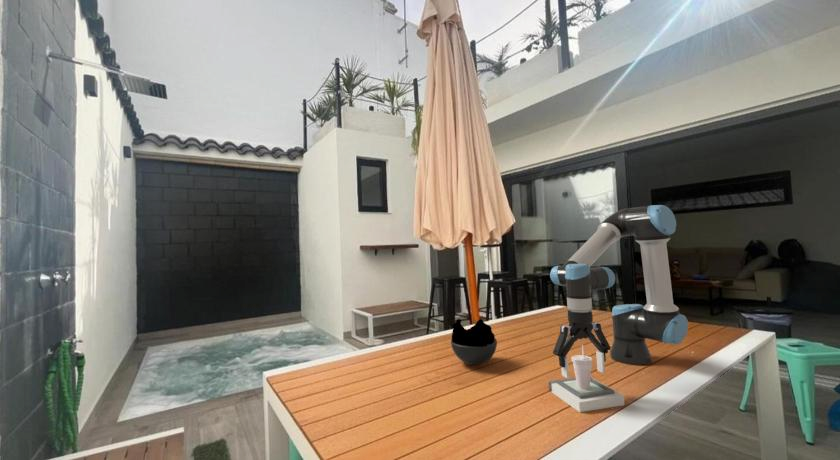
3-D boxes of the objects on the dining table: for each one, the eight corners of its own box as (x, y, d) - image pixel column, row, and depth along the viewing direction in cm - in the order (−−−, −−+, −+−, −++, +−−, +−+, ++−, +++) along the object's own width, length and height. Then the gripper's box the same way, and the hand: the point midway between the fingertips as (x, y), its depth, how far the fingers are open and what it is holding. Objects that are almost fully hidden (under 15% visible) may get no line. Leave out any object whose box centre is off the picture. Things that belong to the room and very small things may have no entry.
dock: (589, 384, 122) (588, 373, 122) (624, 405, 106) (623, 392, 106) (549, 390, 118) (548, 378, 118) (579, 412, 103) (579, 398, 103)
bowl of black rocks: (507, 364, 145) (505, 320, 146) (473, 376, 134) (471, 328, 134) (475, 353, 161) (473, 313, 162) (442, 362, 150) (440, 320, 151)
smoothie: (596, 392, 109) (594, 348, 109) (575, 391, 110) (572, 347, 111) (591, 383, 115) (588, 342, 115) (571, 383, 116) (568, 341, 117)
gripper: (603, 305, 120) (607, 365, 119) (539, 311, 114) (543, 374, 114) (620, 309, 112) (624, 373, 111) (553, 315, 107) (556, 383, 106)
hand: (583, 374), depth 112 cm, fingers open, 13 cm apart
